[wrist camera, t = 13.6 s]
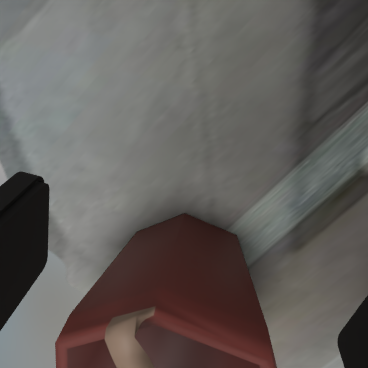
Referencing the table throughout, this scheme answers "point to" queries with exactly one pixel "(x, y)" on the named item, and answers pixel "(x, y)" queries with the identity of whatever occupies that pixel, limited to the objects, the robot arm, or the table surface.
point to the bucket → (170, 305)
